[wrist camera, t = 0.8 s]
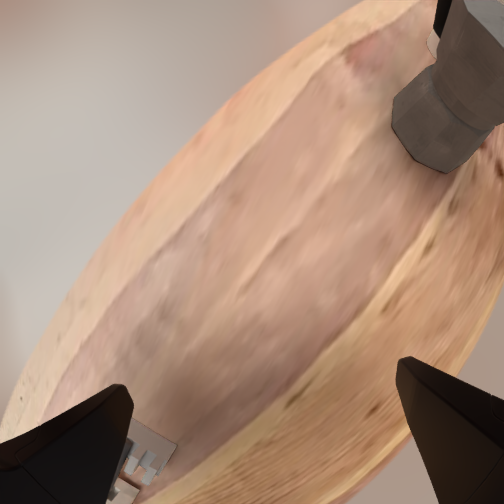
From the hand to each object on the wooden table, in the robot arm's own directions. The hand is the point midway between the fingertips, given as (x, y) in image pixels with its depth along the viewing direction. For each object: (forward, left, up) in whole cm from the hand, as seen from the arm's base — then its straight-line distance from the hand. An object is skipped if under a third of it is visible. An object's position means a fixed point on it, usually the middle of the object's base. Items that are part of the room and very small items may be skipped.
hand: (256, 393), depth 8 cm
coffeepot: (+17, -17, -14) cm, 28 cm away
